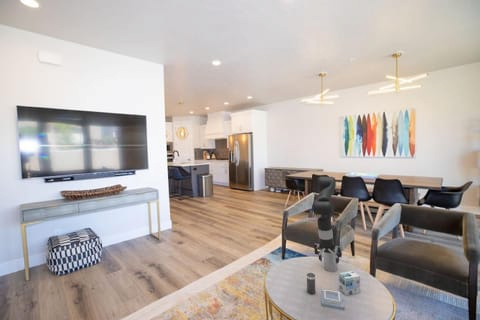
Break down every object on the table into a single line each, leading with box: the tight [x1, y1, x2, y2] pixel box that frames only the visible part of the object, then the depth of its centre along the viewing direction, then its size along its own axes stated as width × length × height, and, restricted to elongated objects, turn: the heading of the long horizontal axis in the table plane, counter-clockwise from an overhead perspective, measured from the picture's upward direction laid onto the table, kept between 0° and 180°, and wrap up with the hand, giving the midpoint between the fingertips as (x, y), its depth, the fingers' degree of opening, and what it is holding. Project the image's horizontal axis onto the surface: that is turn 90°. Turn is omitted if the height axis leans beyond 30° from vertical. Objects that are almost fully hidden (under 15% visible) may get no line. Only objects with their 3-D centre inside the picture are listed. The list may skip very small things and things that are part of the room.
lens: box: [306, 272, 316, 295], centre depth 140 cm, size 5×5×11 cm
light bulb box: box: [338, 270, 361, 296], centre depth 140 cm, size 11×7×11 cm, turn 101°
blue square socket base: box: [320, 289, 345, 311], centre depth 132 cm, size 12×12×4 cm
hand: (329, 261), depth 126 cm, fingers open, 8 cm apart
